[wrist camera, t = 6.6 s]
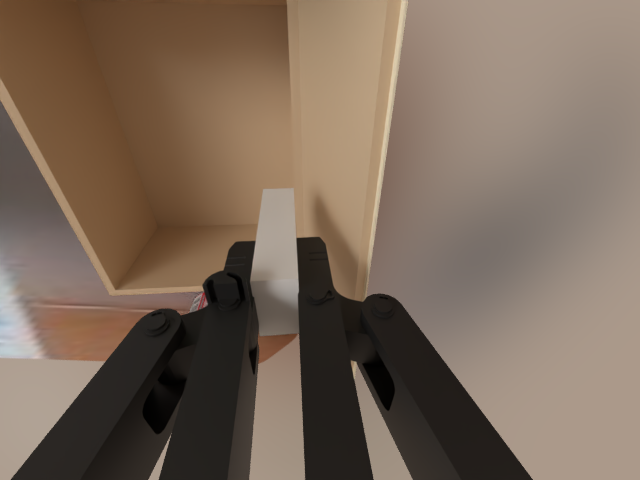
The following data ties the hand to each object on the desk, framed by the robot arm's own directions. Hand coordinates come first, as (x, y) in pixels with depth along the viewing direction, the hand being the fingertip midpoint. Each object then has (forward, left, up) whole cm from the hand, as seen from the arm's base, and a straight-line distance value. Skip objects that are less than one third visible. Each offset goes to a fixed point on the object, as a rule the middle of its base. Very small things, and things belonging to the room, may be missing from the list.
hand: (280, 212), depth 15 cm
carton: (-7, 0, -15) cm, 16 cm away
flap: (+2, 0, 0) cm, 2 cm away
